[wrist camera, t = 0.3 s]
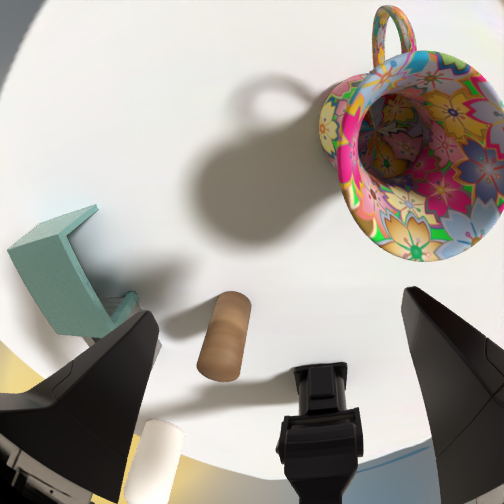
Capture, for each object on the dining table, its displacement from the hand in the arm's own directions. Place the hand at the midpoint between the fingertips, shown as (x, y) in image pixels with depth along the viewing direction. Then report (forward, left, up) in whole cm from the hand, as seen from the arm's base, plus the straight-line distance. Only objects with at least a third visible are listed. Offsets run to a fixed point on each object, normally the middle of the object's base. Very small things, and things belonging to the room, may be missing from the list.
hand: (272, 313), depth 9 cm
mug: (+5, -7, -14) cm, 17 cm away
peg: (-11, +7, -14) cm, 19 cm away
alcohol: (-45, +31, -14) cm, 56 cm away
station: (-7, +22, -14) cm, 27 cm away
